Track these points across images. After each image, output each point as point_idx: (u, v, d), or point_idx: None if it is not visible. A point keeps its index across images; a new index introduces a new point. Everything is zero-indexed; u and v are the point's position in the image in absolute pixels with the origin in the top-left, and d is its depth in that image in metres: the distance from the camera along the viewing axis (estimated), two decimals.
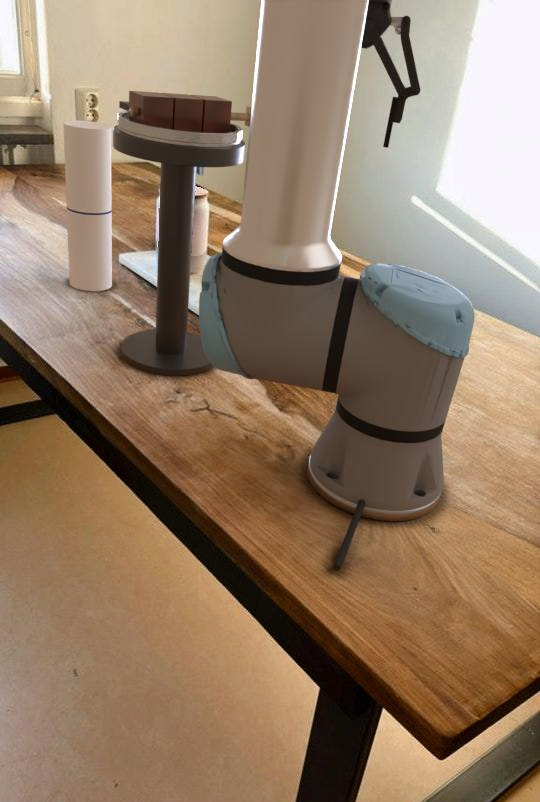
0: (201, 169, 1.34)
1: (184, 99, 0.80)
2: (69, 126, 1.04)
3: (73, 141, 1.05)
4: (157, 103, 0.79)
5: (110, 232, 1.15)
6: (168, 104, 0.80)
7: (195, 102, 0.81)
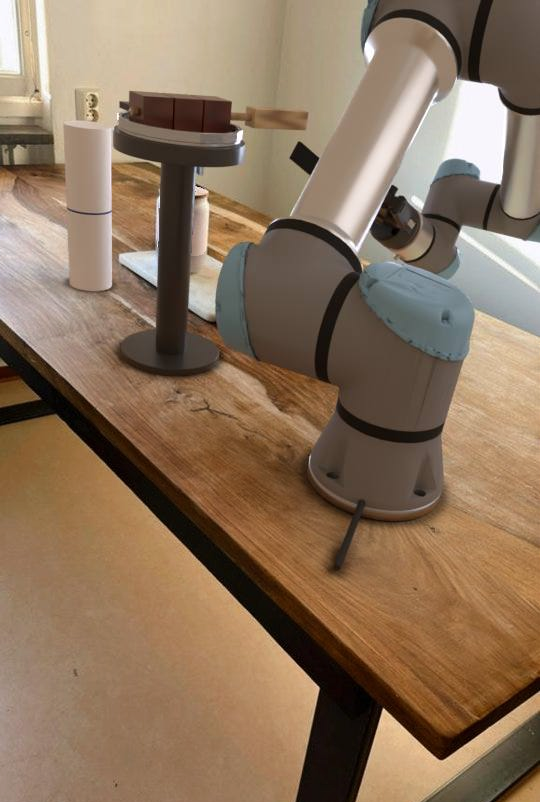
0: (201, 169, 1.34)
1: (184, 99, 0.80)
2: (69, 126, 1.04)
3: (73, 141, 1.05)
4: (157, 103, 0.79)
5: (110, 232, 1.15)
6: (168, 104, 0.80)
7: (195, 102, 0.81)
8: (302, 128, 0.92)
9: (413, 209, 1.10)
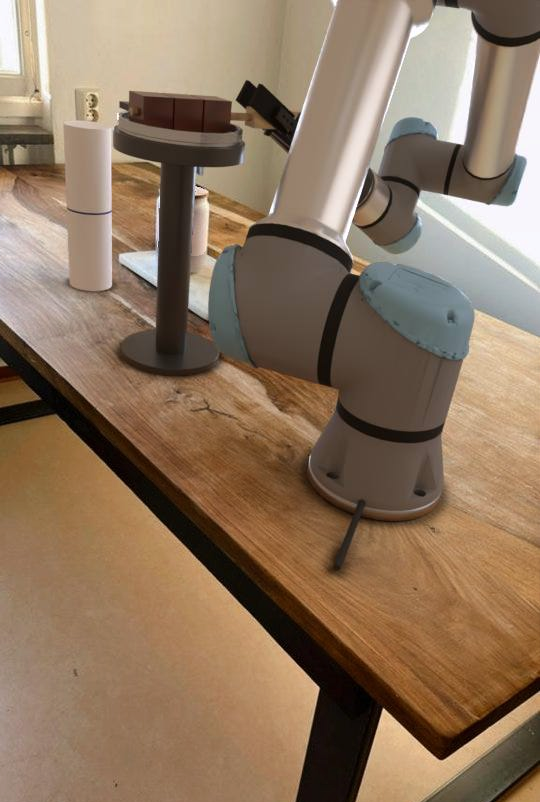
0: (201, 169, 1.34)
1: (184, 99, 0.80)
2: (69, 126, 1.04)
3: (73, 141, 1.05)
4: (157, 103, 0.79)
5: (110, 232, 1.15)
6: (168, 104, 0.80)
7: (195, 102, 0.81)
8: None
9: None
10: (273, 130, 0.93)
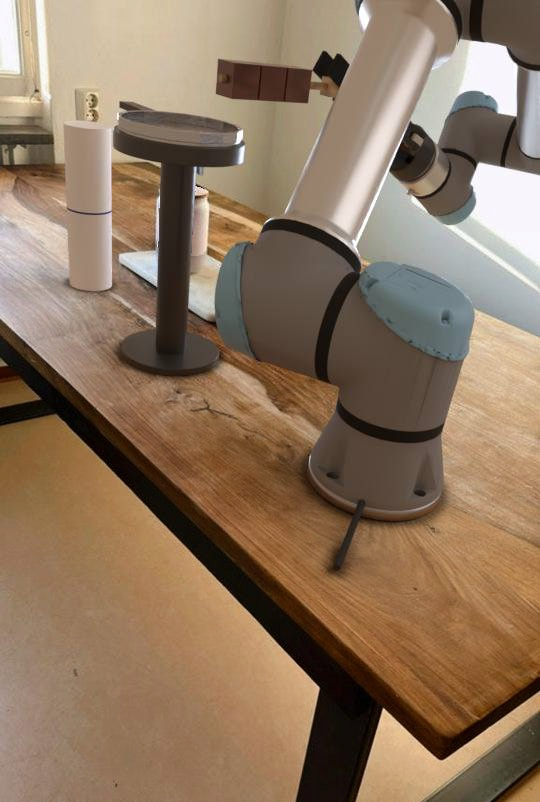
0: (201, 169, 1.34)
1: (270, 67, 0.84)
2: (69, 126, 1.04)
3: (73, 141, 1.05)
4: (246, 70, 0.83)
5: (110, 232, 1.15)
6: (255, 71, 0.84)
7: (279, 70, 0.85)
8: None
9: (429, 137, 1.04)
10: None
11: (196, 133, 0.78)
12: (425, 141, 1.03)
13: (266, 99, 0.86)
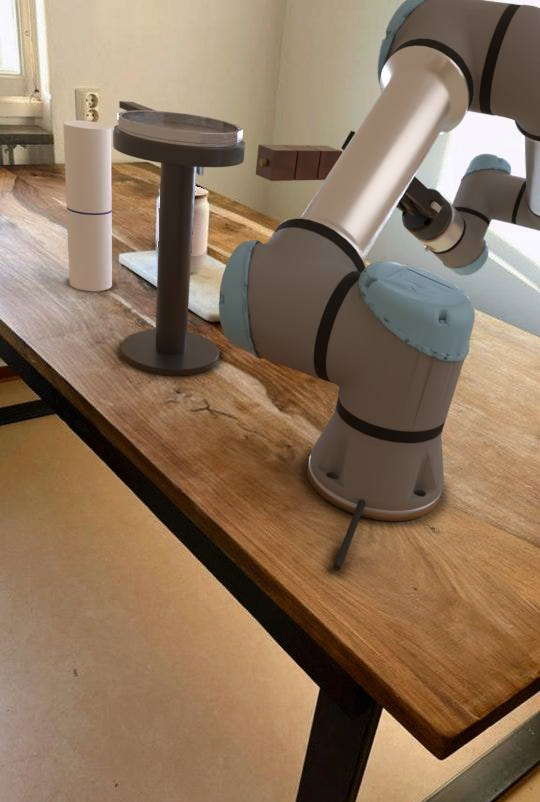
0: (201, 169, 1.34)
1: (305, 151, 0.93)
2: (69, 126, 1.04)
3: (73, 141, 1.05)
4: (284, 155, 0.92)
5: (110, 232, 1.15)
6: (292, 156, 0.93)
7: (314, 153, 0.94)
8: None
9: (445, 201, 1.13)
10: None
11: (196, 133, 0.78)
12: (443, 205, 1.12)
13: (301, 179, 0.95)
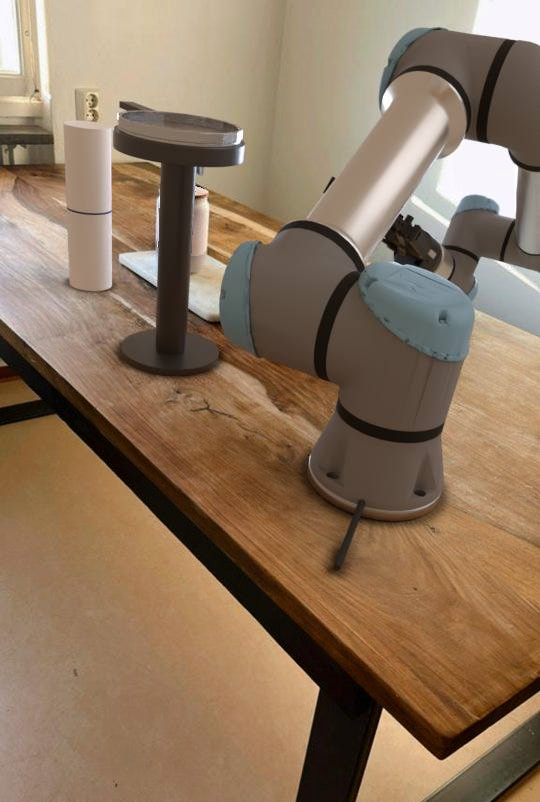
0: (201, 169, 1.34)
1: None
2: (69, 126, 1.04)
3: (73, 141, 1.05)
4: None
5: (110, 232, 1.15)
6: None
7: None
8: None
9: (435, 242, 1.17)
10: None
11: (196, 133, 0.78)
12: None
13: None
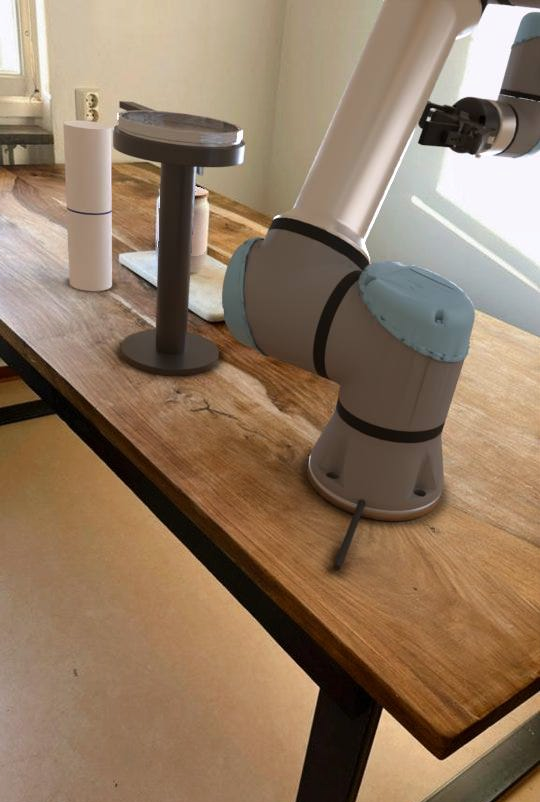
0: (201, 169, 1.34)
1: None
2: (69, 126, 1.04)
3: (73, 141, 1.05)
4: None
5: (110, 232, 1.15)
6: None
7: None
8: None
9: (490, 109, 1.00)
10: None
11: (196, 133, 0.78)
12: (487, 119, 1.00)
13: None
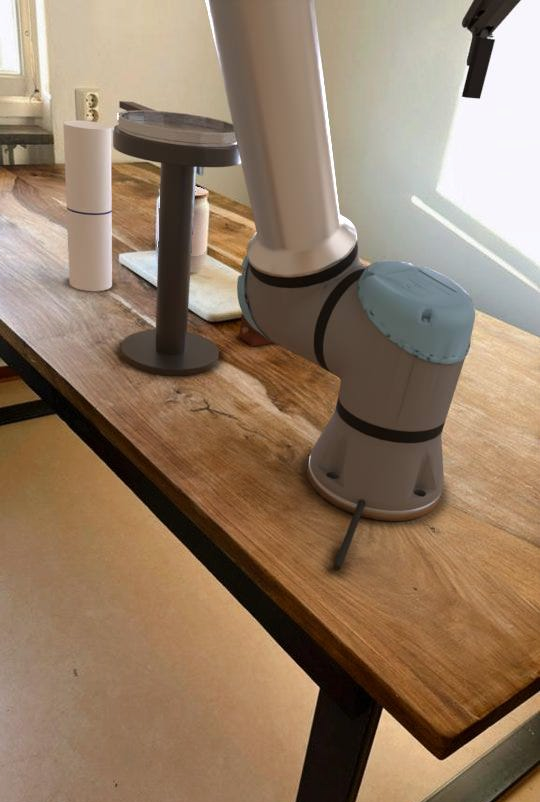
0: (201, 169, 1.34)
1: None
2: (69, 126, 1.04)
3: (73, 141, 1.05)
4: None
5: (110, 232, 1.15)
6: None
7: None
8: None
9: None
10: (489, 35, 0.86)
11: (196, 133, 0.78)
12: None
13: None
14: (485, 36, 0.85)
